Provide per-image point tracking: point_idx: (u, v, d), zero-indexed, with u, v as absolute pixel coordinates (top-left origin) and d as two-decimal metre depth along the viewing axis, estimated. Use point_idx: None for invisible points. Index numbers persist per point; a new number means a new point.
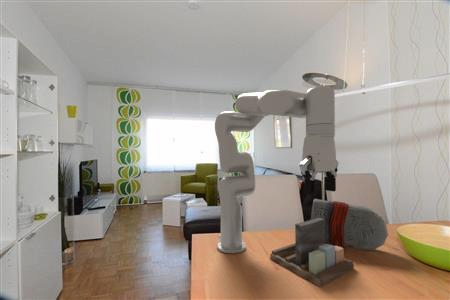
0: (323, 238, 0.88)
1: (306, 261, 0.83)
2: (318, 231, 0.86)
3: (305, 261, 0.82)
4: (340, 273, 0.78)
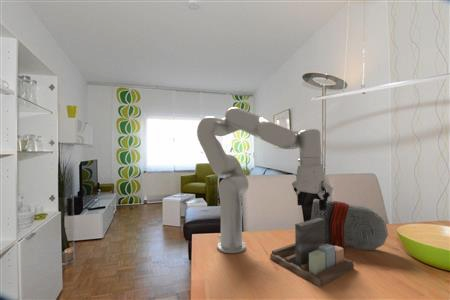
0: (323, 238, 0.88)
1: (306, 261, 0.83)
2: (318, 231, 0.86)
3: (305, 261, 0.82)
4: (340, 273, 0.78)
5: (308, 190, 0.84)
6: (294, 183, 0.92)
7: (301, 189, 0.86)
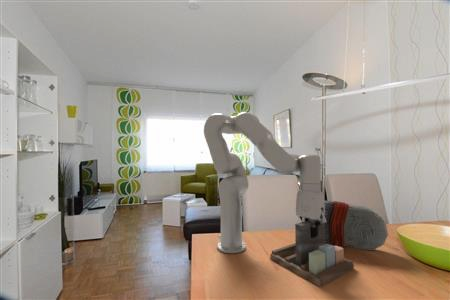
0: (323, 238, 0.88)
1: (306, 261, 0.83)
2: (318, 230, 0.86)
3: (305, 261, 0.82)
4: (340, 273, 0.78)
5: (308, 216, 0.84)
6: None
7: (301, 214, 0.86)
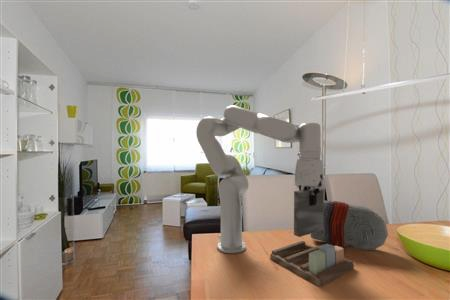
0: (322, 207, 0.88)
1: (304, 228, 0.83)
2: None
3: (303, 228, 0.83)
4: (340, 273, 0.78)
5: (306, 183, 0.84)
6: None
7: (300, 182, 0.86)
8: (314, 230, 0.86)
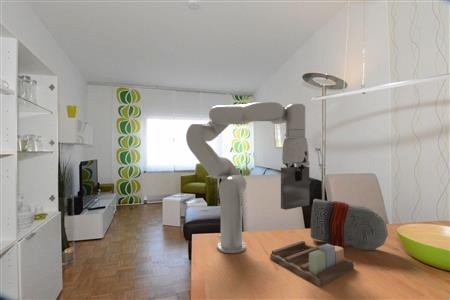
0: (307, 184, 0.94)
1: (290, 202, 0.89)
2: (302, 176, 0.92)
3: (289, 201, 0.88)
4: (340, 273, 0.78)
5: (292, 160, 0.89)
6: None
7: (286, 160, 0.92)
8: (300, 204, 0.92)
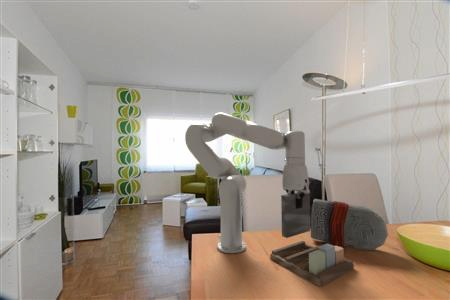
0: (308, 210, 0.94)
1: (291, 230, 0.89)
2: (303, 202, 0.92)
3: (290, 229, 0.88)
4: (340, 273, 0.78)
5: (293, 188, 0.90)
6: None
7: (286, 187, 0.92)
8: (301, 231, 0.92)
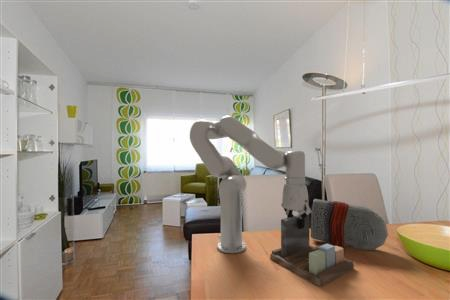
0: (308, 233, 0.94)
1: (291, 254, 0.89)
2: None
3: (290, 253, 0.88)
4: (340, 273, 0.78)
5: (292, 208, 0.90)
6: None
7: (286, 206, 0.92)
8: None
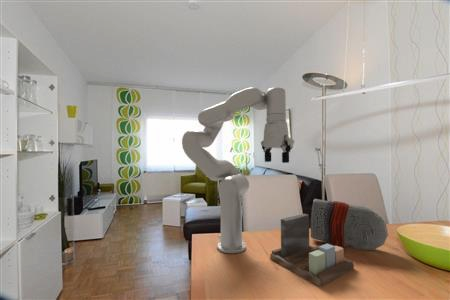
0: (307, 232, 0.94)
1: (291, 254, 0.89)
2: (302, 225, 0.92)
3: (290, 253, 0.88)
4: (340, 273, 0.78)
5: (273, 145, 0.89)
6: (262, 142, 0.97)
7: (267, 145, 0.92)
8: None
